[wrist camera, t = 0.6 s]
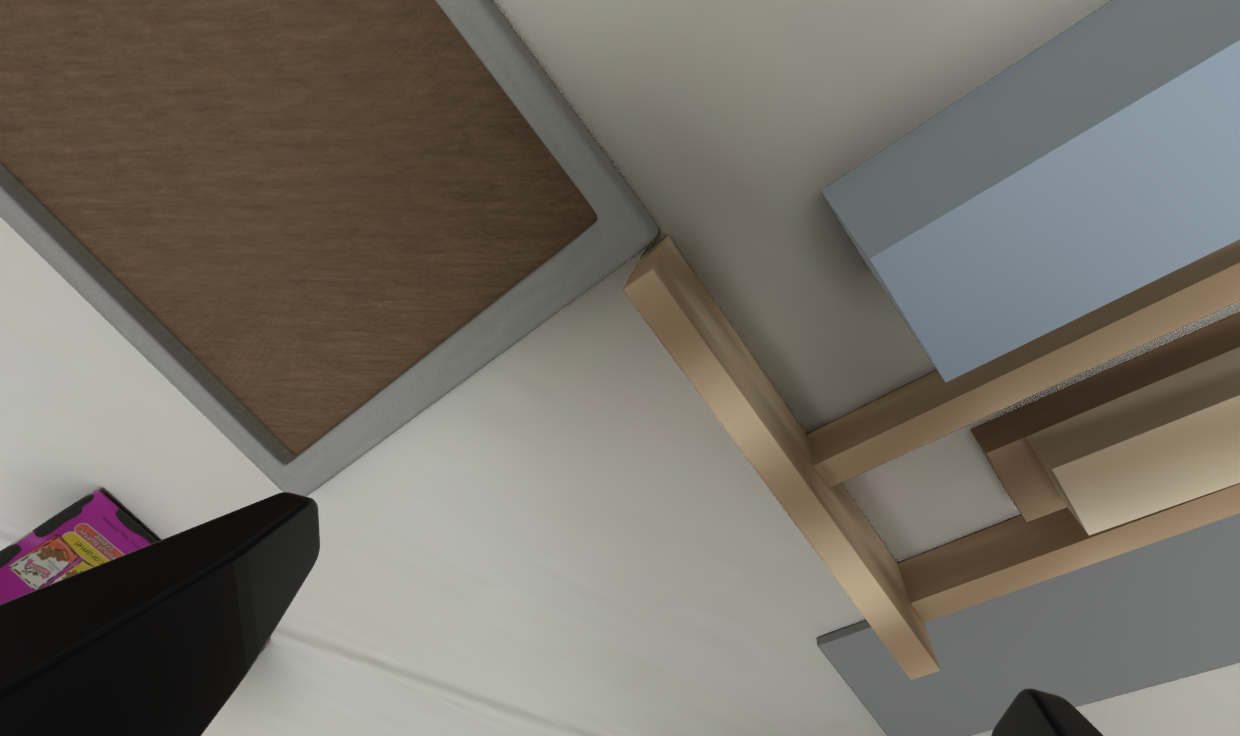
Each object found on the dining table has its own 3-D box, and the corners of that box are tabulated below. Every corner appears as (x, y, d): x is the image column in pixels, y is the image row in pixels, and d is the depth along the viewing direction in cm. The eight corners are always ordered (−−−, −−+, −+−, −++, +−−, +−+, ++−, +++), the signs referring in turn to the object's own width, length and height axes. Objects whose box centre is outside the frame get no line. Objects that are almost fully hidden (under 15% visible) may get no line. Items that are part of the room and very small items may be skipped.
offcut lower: (1484, 294, 17) (1571, 319, 16) (1003, 486, 22) (1026, 522, 20) (1457, 203, 17) (1544, 218, 15) (965, 422, 21) (986, 453, 20)
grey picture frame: (294, 506, 26) (-409, -179, 19) (318, 484, 28) (-330, -161, 21) (658, 240, 19) (-265, -1009, 12) (664, 228, 20) (-158, -894, 14)
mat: (1384, 611, 21) (1395, 620, 21) (899, 745, 27) (901, 753, 27) (1315, 457, 19) (1326, 464, 19) (816, 638, 26) (817, 645, 25)
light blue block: (1342, -5, 15) (1892, -81, 8) (870, 271, 19) (945, 382, 12) (1300, -125, 14) (1866, -331, 7) (820, 190, 19) (869, 258, 12)
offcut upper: (1424, 361, 16) (1498, 391, 15) (1061, 498, 20) (1089, 535, 18) (1397, 280, 16) (1470, 303, 14) (1025, 436, 19) (1052, 469, 18)
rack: (1764, 260, 16) (2072, 314, 12) (885, 590, 24) (910, 680, 21) (1630, -435, 12) (2024, -663, 8) (643, 253, 20) (622, 289, 17)
